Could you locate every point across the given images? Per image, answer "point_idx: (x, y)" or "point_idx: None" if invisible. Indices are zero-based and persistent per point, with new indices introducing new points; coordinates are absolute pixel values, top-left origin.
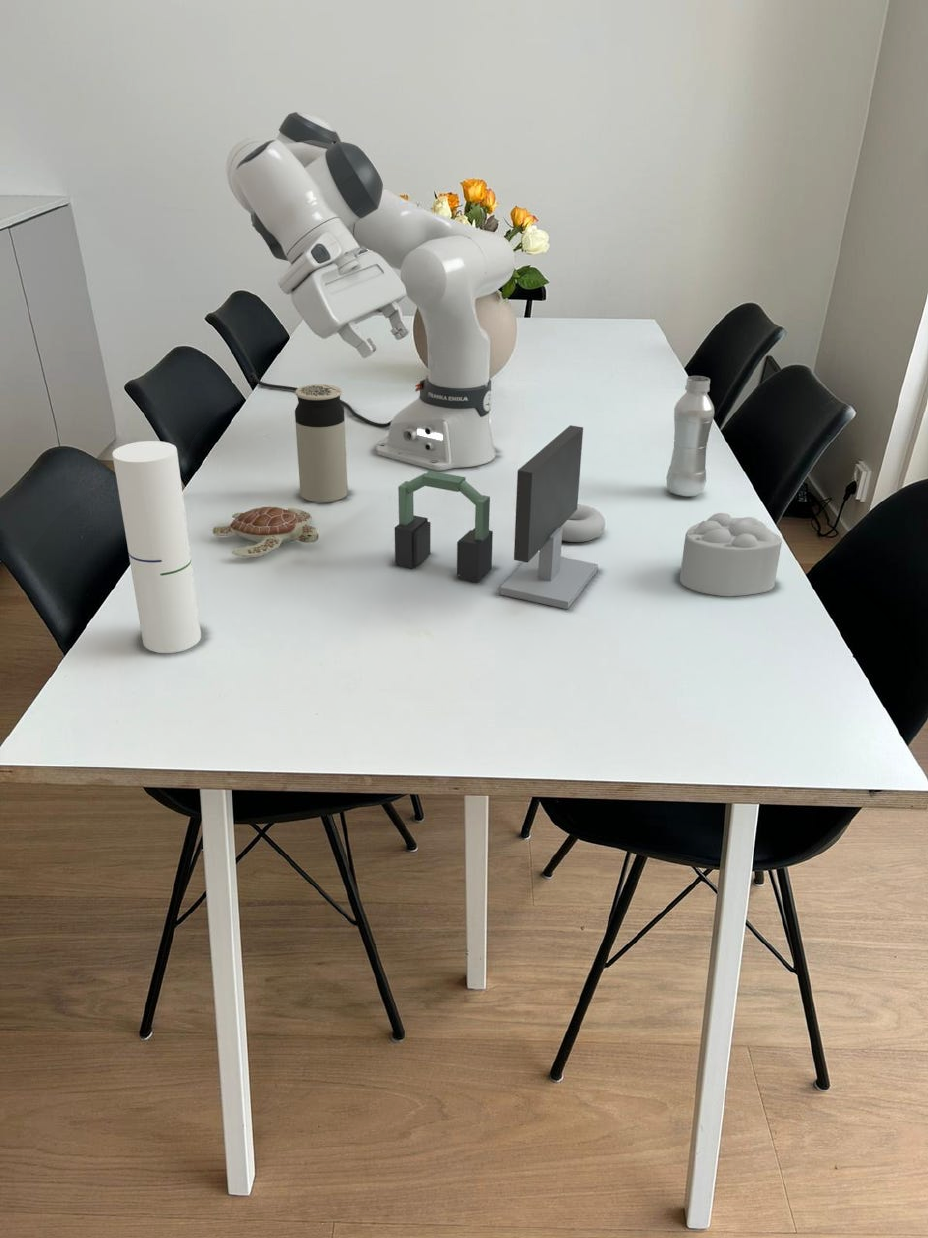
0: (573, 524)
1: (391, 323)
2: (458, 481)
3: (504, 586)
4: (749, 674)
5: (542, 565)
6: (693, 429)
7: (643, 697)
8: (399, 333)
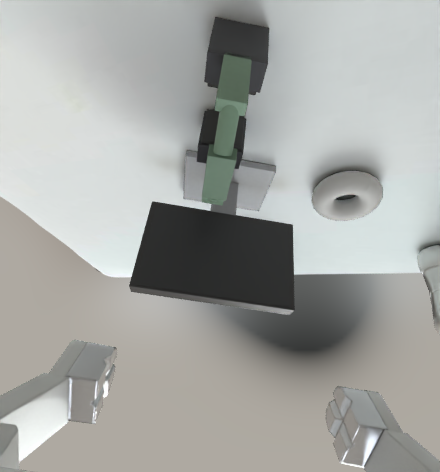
0: (318, 205)
1: (409, 456)
2: (205, 196)
3: (188, 159)
4: None
5: None
6: (434, 311)
7: (103, 224)
8: (341, 414)
